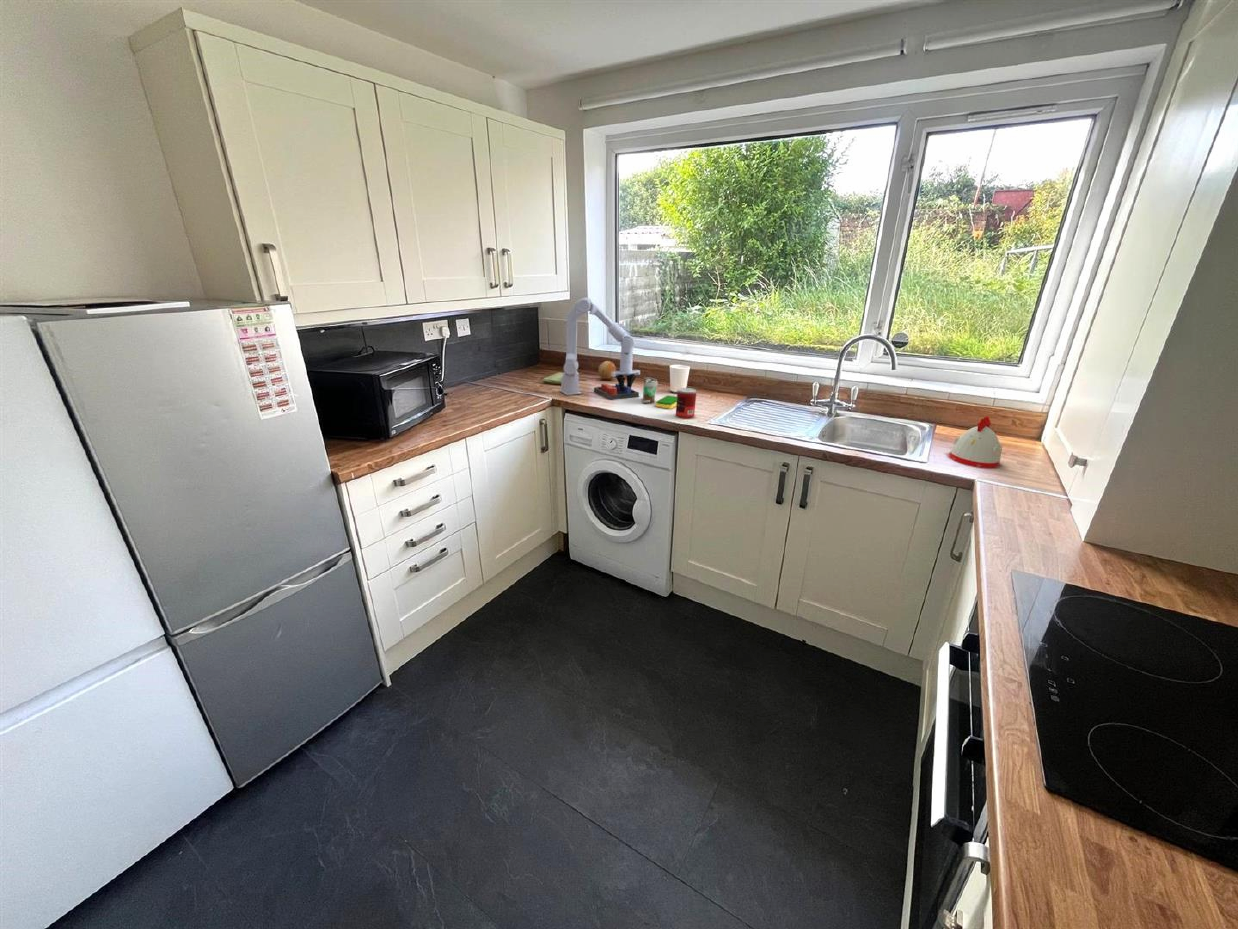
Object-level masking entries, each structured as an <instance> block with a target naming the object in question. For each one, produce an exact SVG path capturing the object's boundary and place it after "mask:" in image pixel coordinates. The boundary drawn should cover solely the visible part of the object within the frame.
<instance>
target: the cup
mask: <svg viewBox="0 0 1238 929" xmlns="http://www.w3.org/2000/svg"><path fill="white" fill-rule="evenodd" d="M690 369H691V367H690V366H689V365H685V364H672V365H669V390H670V392H671V393H673V394H677V391H678V389H679V388H687V386H688V381H689V379H688V378H689V375H690Z"/></svg>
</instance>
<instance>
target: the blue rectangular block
mask: <svg viewBox="0 0 1238 929" xmlns="http://www.w3.org/2000/svg"><path fill="white" fill-rule="evenodd" d="M614 386H615V387H616V388H617V392H622V393H624V394H627V393H631V389H632V386H631V387H628V386H627V384H625V383H624V391H620V386H619V383H618V382H616V383H615V385H614Z"/></svg>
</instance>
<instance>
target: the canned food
mask: <svg viewBox="0 0 1238 929" xmlns="http://www.w3.org/2000/svg"><path fill="white" fill-rule="evenodd" d="M676 397H677V404H676V406H675V416H676V417H677V418H680V419H692V418H694V416H695V413H696V412H695V411H696V401H697V389H695V388H691V387H686V388H679V389H678V391H677V393H676Z"/></svg>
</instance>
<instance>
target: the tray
mask: <svg viewBox="0 0 1238 929" xmlns="http://www.w3.org/2000/svg"><path fill="white" fill-rule="evenodd" d="M611 386H612V387H615V385H611ZM593 392H594V393H596V394H598V395H600V396H602V397H604V398H605V399H608V400H610V401H612V400H613V401H614V400H622V399H623V400H624V399H634V398H639V397H640V393H639V391H636V390H634V389H632V388H631V393H627V394H624V393H622V392H617V394H616V395H610V394H608V393H606V392H604V391H602V390H601V386H595V387H593Z"/></svg>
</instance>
